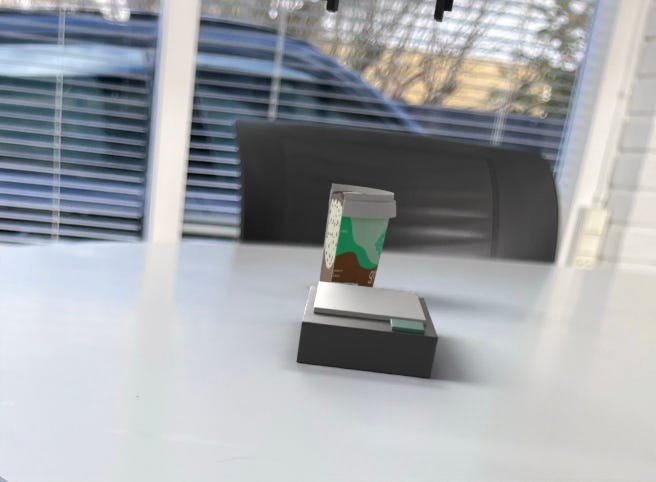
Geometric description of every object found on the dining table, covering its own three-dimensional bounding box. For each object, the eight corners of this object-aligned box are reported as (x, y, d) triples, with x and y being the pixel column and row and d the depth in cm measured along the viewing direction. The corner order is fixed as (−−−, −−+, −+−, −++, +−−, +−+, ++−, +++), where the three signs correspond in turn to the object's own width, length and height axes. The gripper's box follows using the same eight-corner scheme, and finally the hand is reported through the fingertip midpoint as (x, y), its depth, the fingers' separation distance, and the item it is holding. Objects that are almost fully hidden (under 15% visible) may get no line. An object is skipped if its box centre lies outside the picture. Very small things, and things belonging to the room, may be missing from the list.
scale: (417, 332, 94) (424, 293, 93) (430, 378, 79) (439, 331, 77) (306, 319, 95) (311, 280, 94) (296, 362, 80) (302, 315, 78)
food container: (390, 307, 105) (409, 199, 101) (329, 301, 105) (345, 193, 101) (372, 286, 116) (389, 188, 112) (317, 281, 116) (331, 183, 112)
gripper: (526, -205, 90) (481, 27, 97) (324, -215, 93) (296, 11, 101) (530, -230, 83) (481, 21, 91) (313, -240, 86) (283, 3, 94)
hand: (384, 15), depth 96 cm, fingers open, 9 cm apart
